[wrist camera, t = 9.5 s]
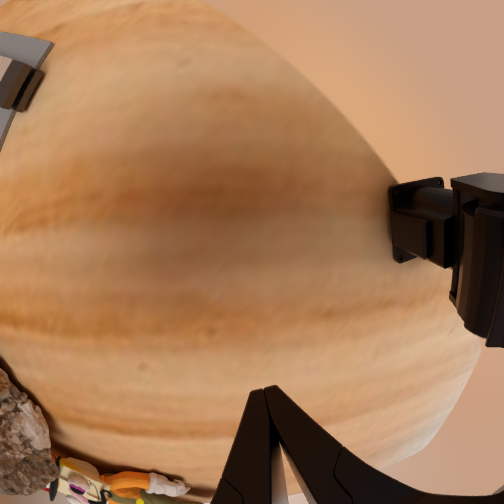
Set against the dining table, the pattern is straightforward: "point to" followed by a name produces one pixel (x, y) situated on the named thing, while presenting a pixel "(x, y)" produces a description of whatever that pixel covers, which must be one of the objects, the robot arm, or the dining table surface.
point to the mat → (22, 51)
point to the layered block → (16, 83)
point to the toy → (111, 485)
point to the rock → (23, 443)
